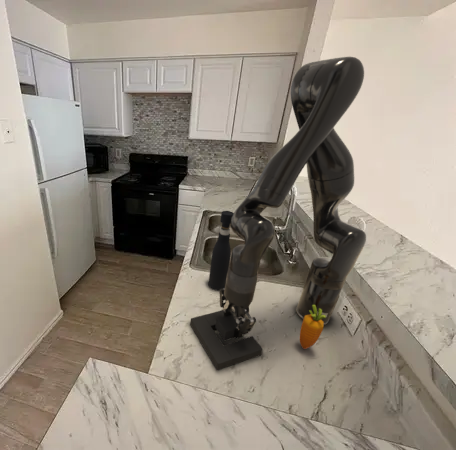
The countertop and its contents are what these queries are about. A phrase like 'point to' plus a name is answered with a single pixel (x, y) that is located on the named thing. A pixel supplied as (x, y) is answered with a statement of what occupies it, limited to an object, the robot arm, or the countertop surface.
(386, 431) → the countertop surface
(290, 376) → the countertop surface
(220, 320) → the connector pad
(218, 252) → the wine bottle
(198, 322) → the base mat
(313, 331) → the carrot
